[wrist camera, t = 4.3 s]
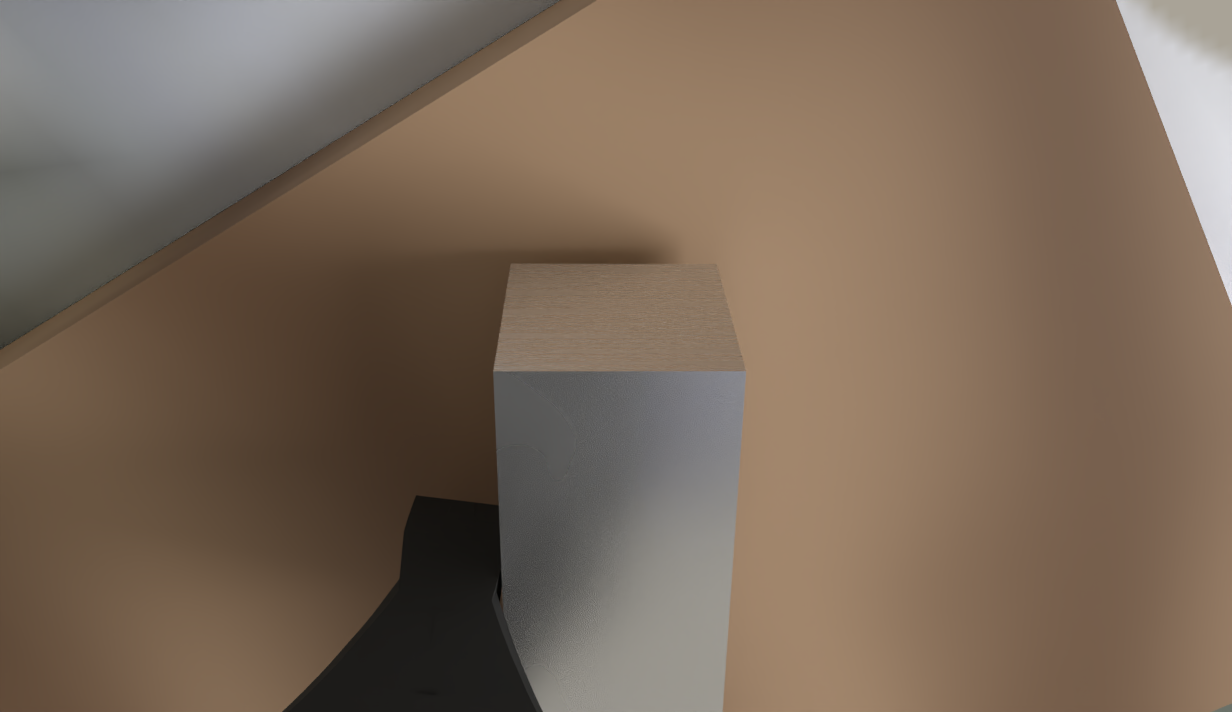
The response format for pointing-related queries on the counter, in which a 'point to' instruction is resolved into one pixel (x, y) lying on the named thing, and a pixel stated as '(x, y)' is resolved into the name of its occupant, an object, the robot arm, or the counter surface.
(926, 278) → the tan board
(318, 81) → the counter surface
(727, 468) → the lock bar
